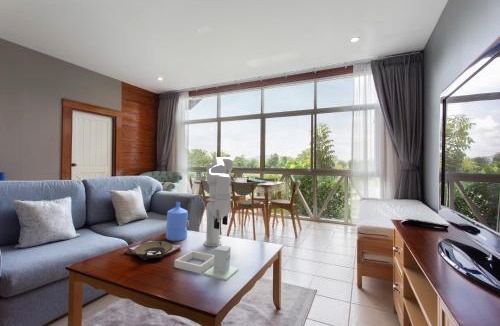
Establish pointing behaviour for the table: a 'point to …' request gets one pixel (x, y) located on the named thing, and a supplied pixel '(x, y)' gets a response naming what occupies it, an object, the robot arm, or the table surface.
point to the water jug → (176, 223)
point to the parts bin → (196, 268)
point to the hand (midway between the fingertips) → (220, 226)
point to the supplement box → (221, 259)
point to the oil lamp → (152, 249)
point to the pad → (221, 275)
